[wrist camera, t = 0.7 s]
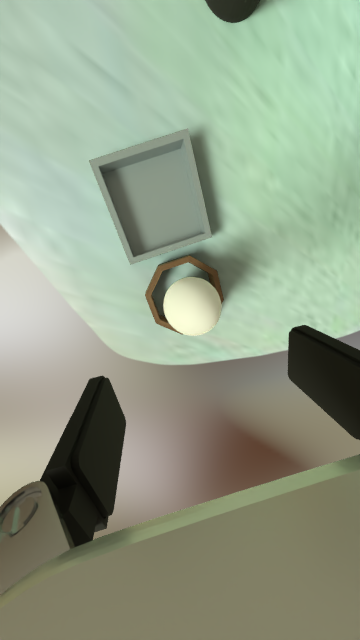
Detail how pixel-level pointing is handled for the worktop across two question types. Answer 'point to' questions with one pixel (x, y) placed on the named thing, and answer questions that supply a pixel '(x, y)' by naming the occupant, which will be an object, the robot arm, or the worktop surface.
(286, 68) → the worktop surface
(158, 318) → the holder ring
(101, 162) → the tray
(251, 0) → the travel mug
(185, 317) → the light bulb
